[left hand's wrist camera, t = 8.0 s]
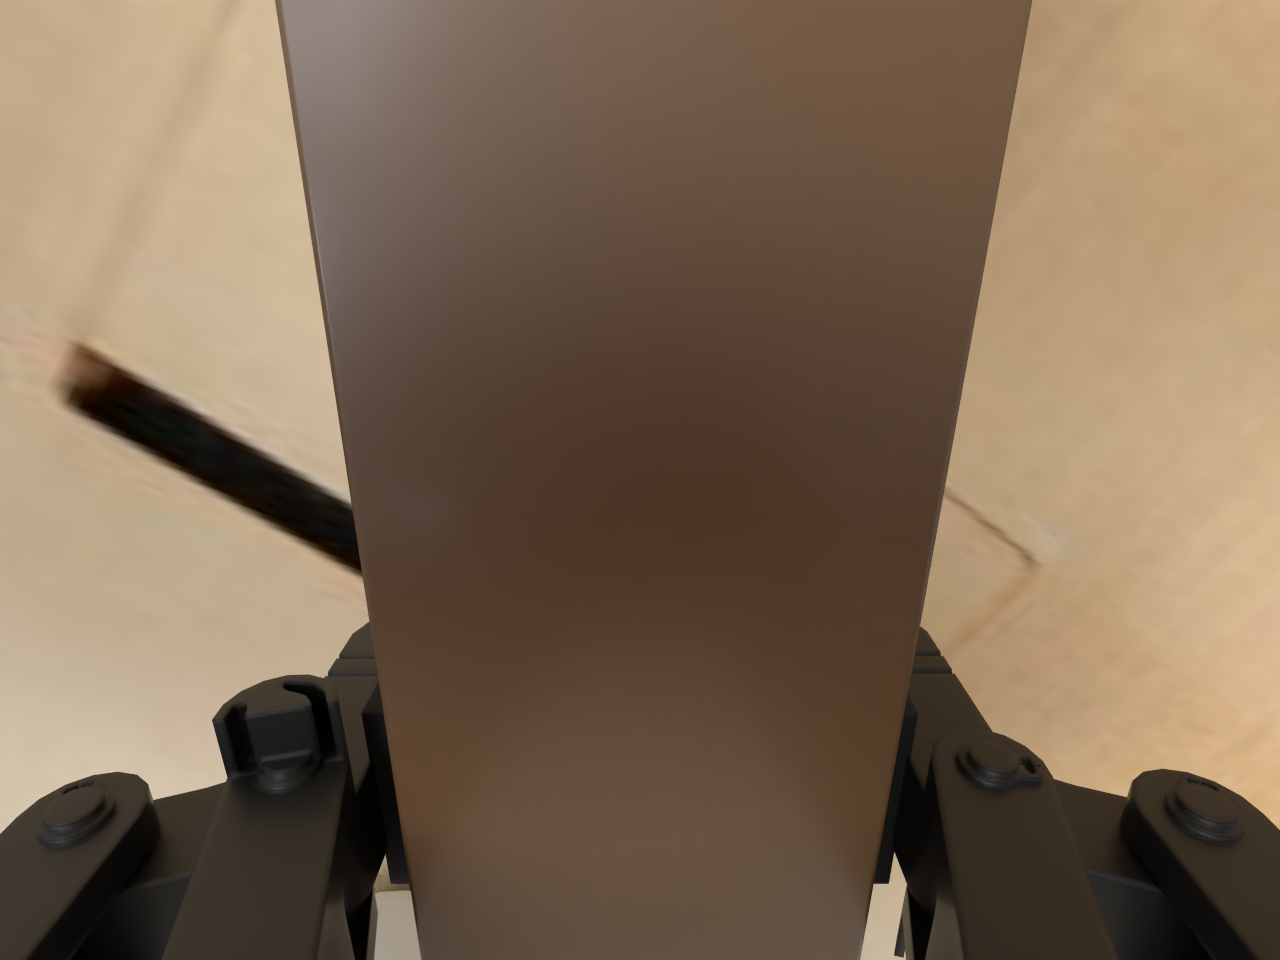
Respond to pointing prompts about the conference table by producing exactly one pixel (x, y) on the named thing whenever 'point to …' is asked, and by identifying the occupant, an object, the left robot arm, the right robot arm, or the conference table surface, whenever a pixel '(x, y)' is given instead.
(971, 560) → the conference table surface
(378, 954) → the projector
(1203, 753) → the conference table surface
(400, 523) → the beam
